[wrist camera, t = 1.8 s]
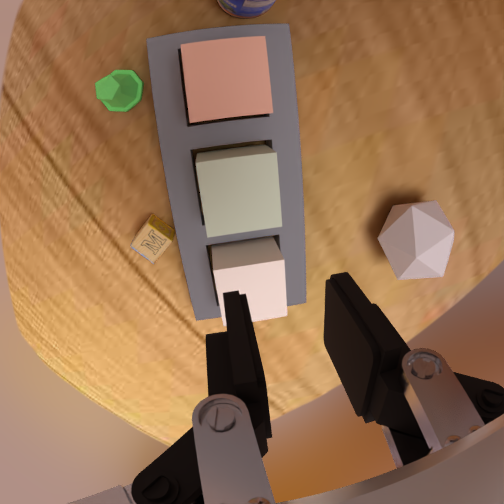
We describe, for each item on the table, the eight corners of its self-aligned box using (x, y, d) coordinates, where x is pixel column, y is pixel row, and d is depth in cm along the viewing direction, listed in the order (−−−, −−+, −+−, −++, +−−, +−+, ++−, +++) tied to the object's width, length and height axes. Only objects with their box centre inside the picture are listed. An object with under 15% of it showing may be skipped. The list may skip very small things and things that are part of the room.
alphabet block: (134, 234, 32) (129, 247, 29) (152, 212, 31) (147, 222, 28) (158, 251, 33) (154, 265, 30) (175, 229, 32) (173, 242, 30)
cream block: (211, 245, 31) (213, 270, 27) (272, 236, 32) (284, 259, 27) (220, 296, 34) (223, 326, 29) (276, 287, 34) (287, 315, 30)
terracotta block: (184, 54, 23) (180, 44, 19) (254, 47, 24) (265, 35, 19) (192, 119, 26) (190, 122, 21) (261, 111, 26) (273, 112, 22)
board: (151, 44, 24) (146, 38, 21) (281, 30, 25) (288, 23, 22) (196, 304, 36) (196, 320, 34) (299, 288, 37) (306, 302, 35)
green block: (197, 152, 27) (195, 162, 23) (264, 144, 28) (276, 152, 23) (206, 216, 30) (207, 237, 25) (270, 207, 30) (282, 226, 26)
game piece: (96, 78, 24) (73, 74, 19) (138, 62, 24) (123, 53, 19) (107, 119, 26) (85, 123, 21) (149, 104, 26) (136, 103, 21)
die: (350, 235, 36) (397, 309, 32) (390, 180, 29) (451, 263, 25) (394, 223, 40) (436, 286, 35) (432, 176, 33) (483, 244, 28)
